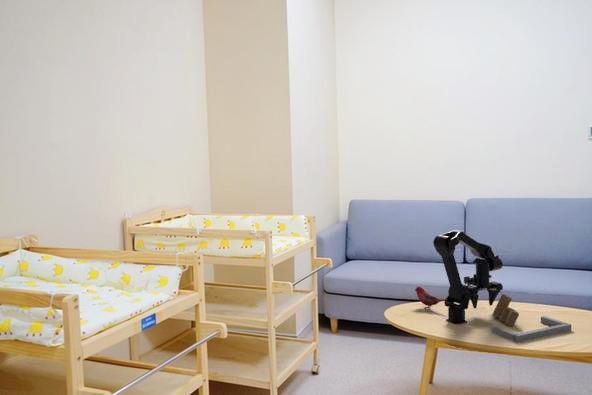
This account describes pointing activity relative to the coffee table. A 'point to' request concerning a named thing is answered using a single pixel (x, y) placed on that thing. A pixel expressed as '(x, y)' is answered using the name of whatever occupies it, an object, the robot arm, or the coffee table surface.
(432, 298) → the decorative bird figurine
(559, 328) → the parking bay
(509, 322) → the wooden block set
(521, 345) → the coffee table surface
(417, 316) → the coffee table surface
